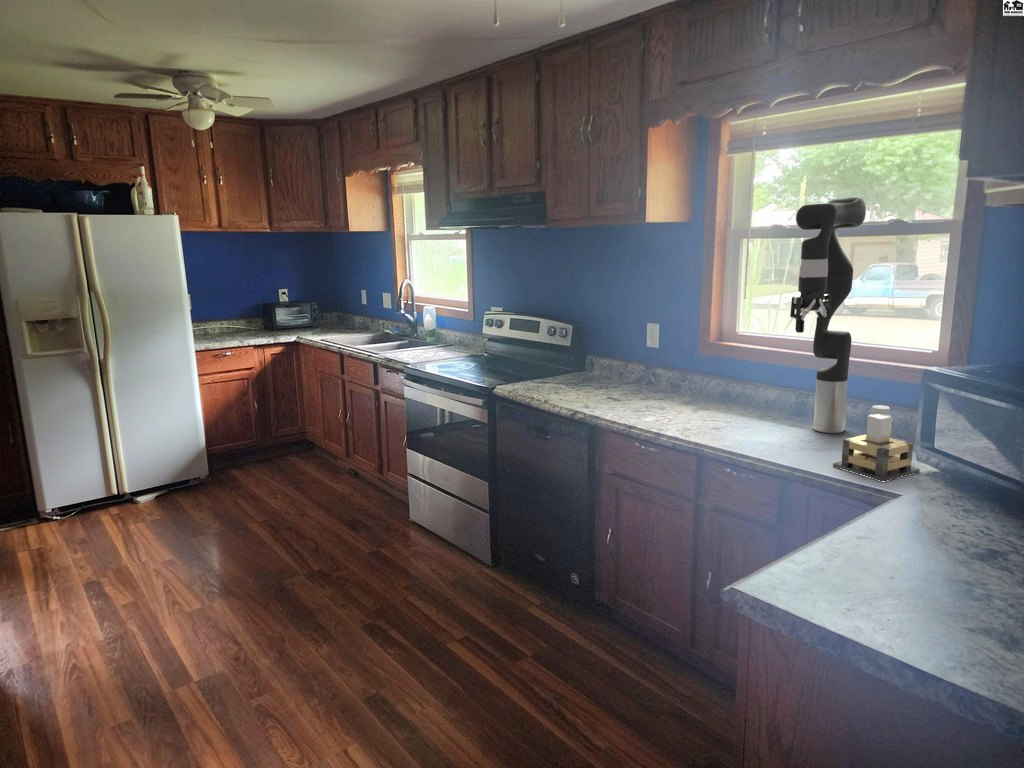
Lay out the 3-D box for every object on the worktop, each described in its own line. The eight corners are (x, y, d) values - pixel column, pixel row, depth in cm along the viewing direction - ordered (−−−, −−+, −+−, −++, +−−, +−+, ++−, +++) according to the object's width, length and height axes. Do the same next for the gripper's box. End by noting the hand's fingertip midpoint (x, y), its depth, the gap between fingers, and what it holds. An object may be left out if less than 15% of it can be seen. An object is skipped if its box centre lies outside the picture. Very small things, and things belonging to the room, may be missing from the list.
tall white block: (873, 462, 184) (877, 413, 181) (887, 466, 180) (892, 417, 177) (864, 465, 182) (867, 415, 179) (878, 469, 178) (882, 419, 175)
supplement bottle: (859, 446, 201) (862, 405, 199) (876, 443, 204) (879, 403, 201) (878, 452, 195) (882, 410, 193) (895, 449, 198) (898, 407, 195)
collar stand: (868, 457, 191) (870, 431, 189) (919, 472, 178) (922, 443, 176) (832, 466, 184) (834, 439, 183) (883, 482, 171) (885, 453, 170)
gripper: (819, 273, 197) (815, 328, 200) (785, 276, 191) (782, 332, 194) (841, 274, 190) (837, 330, 193) (806, 276, 184) (803, 334, 187)
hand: (809, 331), depth 194 cm, fingers open, 8 cm apart
